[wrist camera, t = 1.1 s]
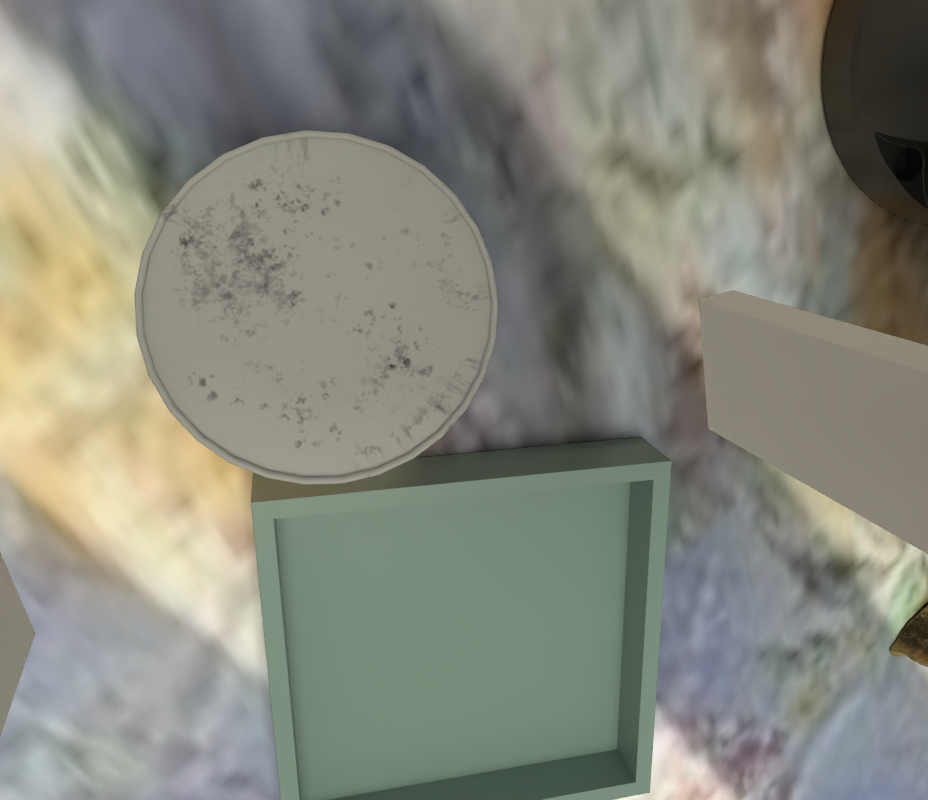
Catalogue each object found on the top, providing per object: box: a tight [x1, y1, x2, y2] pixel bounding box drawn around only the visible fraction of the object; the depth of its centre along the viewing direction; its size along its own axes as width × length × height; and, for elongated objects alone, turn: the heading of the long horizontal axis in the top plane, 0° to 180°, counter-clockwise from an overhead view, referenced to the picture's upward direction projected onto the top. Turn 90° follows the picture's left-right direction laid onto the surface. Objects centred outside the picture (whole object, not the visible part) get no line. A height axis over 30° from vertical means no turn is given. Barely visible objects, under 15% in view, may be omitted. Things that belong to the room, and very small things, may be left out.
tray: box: [251, 437, 672, 800], centre depth 38 cm, size 18×18×3 cm
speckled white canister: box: [135, 130, 498, 484], centre depth 27 cm, size 10×10×12 cm
